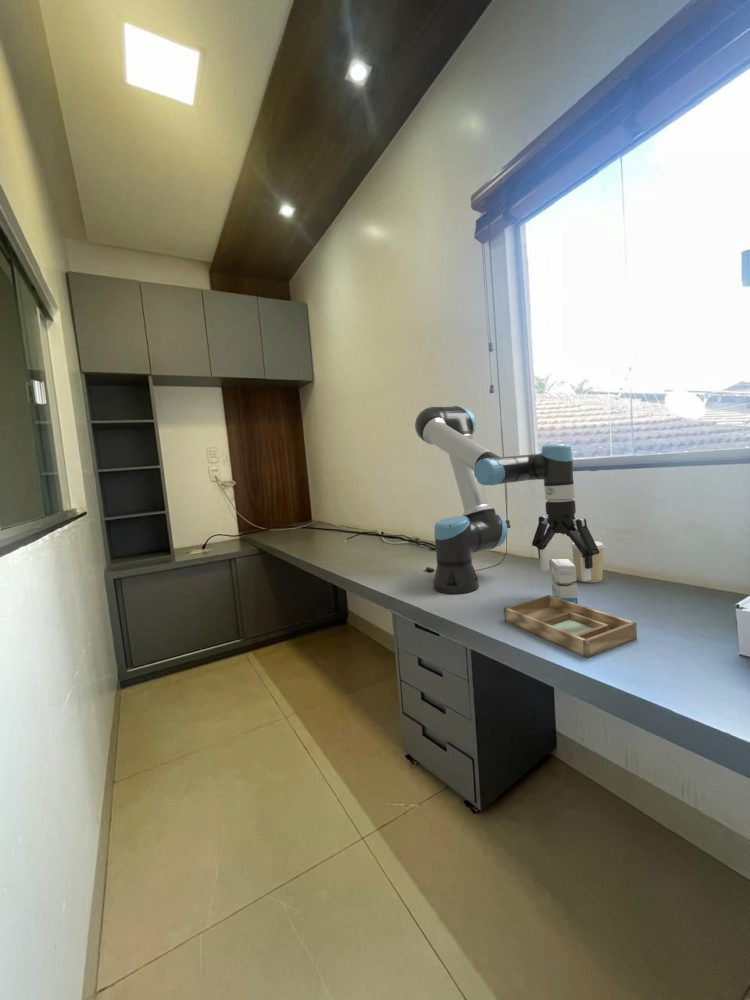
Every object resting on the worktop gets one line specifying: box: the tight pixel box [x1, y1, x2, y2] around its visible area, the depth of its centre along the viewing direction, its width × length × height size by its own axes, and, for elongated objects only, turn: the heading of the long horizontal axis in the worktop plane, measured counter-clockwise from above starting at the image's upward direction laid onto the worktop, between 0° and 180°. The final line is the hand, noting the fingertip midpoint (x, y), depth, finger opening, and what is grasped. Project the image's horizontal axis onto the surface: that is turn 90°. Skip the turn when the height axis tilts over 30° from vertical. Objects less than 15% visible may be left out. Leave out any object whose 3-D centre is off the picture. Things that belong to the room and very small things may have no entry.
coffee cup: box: [571, 540, 605, 583], centre depth 130 cm, size 9×9×12 cm
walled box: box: [503, 594, 638, 659], centre depth 96 cm, size 24×16×4 cm, turn 24°
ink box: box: [550, 558, 579, 604], centre depth 112 cm, size 8×5×12 cm, turn 168°
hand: (564, 575), depth 111 cm, fingers open, 13 cm apart
